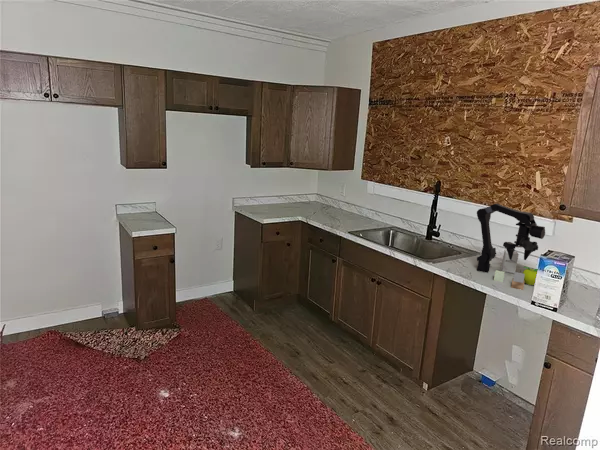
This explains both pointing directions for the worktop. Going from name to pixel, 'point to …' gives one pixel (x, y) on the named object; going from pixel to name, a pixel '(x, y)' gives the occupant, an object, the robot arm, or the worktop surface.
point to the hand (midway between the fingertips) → (517, 259)
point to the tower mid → (518, 277)
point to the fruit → (529, 275)
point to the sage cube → (499, 276)
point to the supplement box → (509, 262)
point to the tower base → (517, 285)
